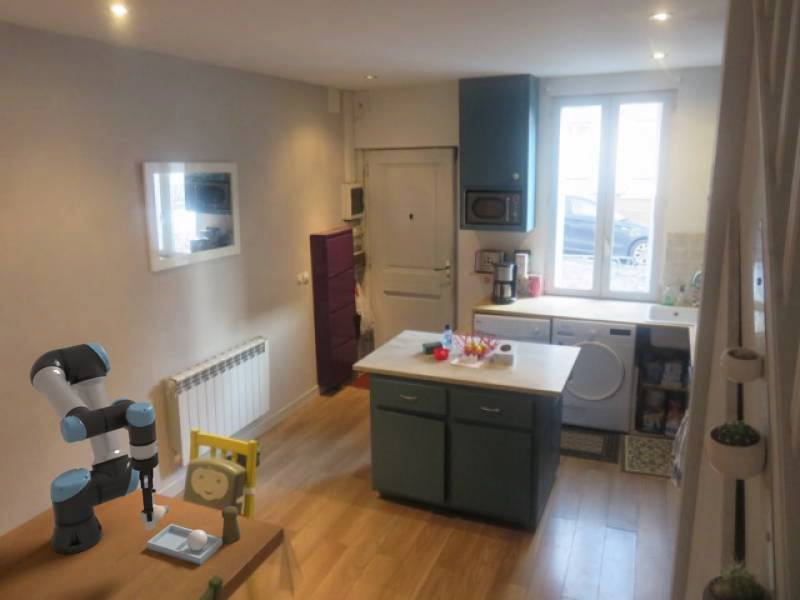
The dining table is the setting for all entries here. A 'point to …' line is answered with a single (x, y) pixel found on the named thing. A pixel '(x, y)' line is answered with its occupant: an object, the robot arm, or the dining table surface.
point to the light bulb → (156, 513)
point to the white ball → (197, 540)
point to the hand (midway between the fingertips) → (150, 521)
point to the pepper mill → (230, 525)
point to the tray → (182, 544)
